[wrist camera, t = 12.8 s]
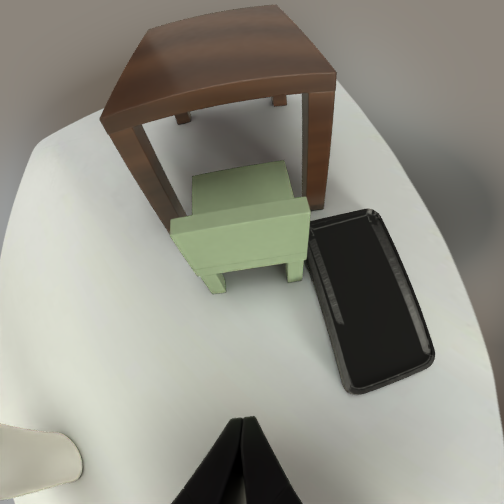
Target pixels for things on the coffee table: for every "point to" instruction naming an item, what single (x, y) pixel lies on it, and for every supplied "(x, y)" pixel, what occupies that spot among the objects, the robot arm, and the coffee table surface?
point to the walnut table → (220, 90)
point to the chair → (243, 223)
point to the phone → (367, 301)
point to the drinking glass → (35, 461)
